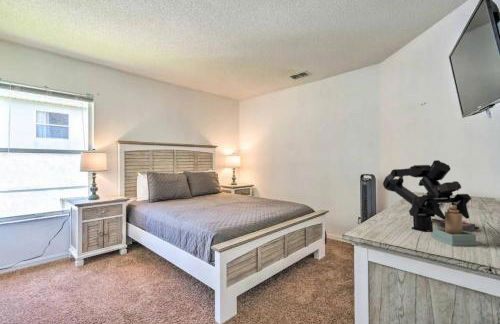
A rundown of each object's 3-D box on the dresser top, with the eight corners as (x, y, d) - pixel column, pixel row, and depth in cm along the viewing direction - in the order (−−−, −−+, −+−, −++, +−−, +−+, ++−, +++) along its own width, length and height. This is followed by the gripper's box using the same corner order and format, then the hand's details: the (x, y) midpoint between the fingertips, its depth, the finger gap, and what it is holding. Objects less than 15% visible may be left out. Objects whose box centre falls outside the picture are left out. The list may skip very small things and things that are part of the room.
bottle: (445, 238, 95) (445, 205, 95) (444, 235, 99) (444, 203, 99) (463, 241, 92) (462, 206, 92) (461, 237, 96) (460, 204, 96)
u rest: (431, 237, 101) (431, 228, 101) (455, 237, 101) (455, 228, 101) (452, 245, 91) (451, 235, 91) (478, 245, 91) (478, 235, 91)
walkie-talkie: (482, 230, 110) (433, 221, 128) (481, 220, 110) (432, 213, 128) (471, 233, 106) (423, 223, 125) (471, 223, 106) (422, 215, 125)
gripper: (421, 175, 100) (443, 207, 89) (466, 174, 100) (494, 205, 89) (409, 192, 108) (428, 223, 96) (451, 191, 108) (475, 222, 96)
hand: (456, 218), depth 94 cm, fingers open, 9 cm apart
